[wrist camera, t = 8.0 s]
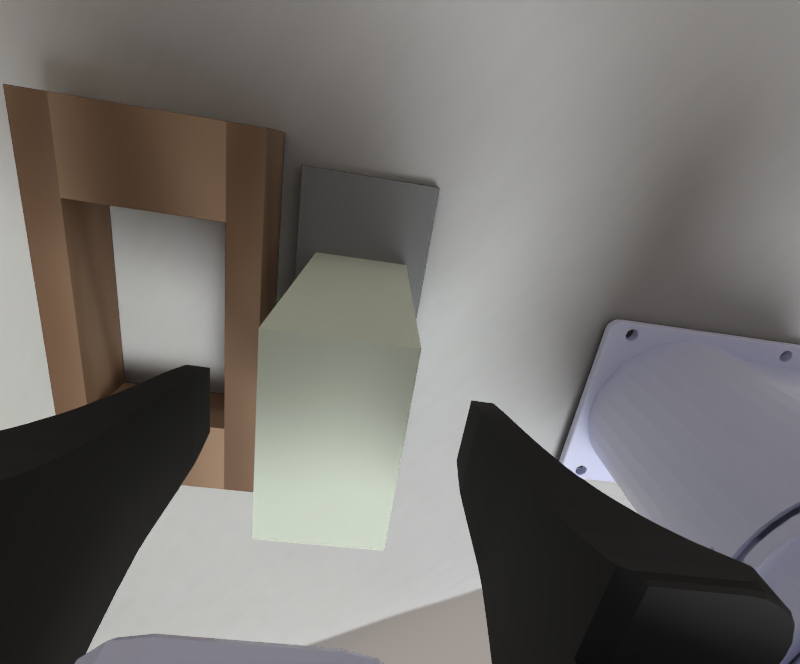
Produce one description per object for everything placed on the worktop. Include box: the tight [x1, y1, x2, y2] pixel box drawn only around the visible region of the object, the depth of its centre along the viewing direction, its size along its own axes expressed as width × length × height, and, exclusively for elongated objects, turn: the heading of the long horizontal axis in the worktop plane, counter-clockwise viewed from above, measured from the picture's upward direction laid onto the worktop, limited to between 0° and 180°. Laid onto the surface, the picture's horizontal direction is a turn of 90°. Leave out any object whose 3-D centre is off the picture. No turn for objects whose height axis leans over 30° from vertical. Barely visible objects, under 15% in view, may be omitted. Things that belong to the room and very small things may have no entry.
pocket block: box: [3, 84, 285, 492], centre depth 17 cm, size 8×14×2 cm, turn 171°
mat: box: [295, 166, 440, 318], centre depth 18 cm, size 5×12×1 cm, turn 171°
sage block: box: [252, 252, 421, 551], centre depth 14 cm, size 4×6×8 cm, turn 172°
